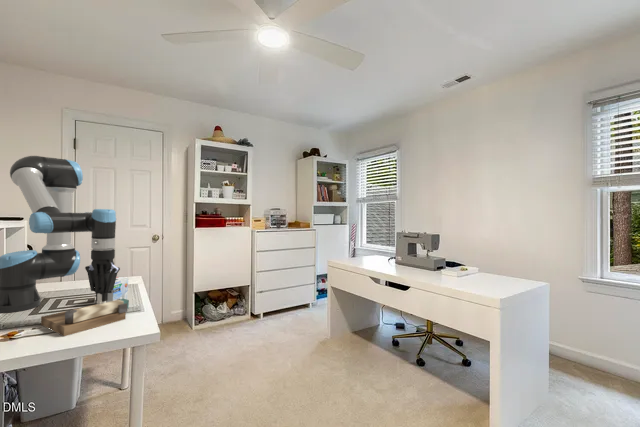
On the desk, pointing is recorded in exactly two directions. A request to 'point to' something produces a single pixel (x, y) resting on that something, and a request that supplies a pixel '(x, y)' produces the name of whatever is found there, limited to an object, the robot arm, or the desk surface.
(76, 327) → the walnut seat
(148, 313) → the desk surface
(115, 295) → the light bulb box
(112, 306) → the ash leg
